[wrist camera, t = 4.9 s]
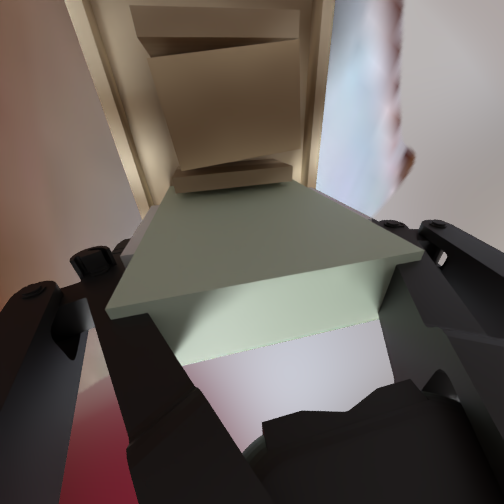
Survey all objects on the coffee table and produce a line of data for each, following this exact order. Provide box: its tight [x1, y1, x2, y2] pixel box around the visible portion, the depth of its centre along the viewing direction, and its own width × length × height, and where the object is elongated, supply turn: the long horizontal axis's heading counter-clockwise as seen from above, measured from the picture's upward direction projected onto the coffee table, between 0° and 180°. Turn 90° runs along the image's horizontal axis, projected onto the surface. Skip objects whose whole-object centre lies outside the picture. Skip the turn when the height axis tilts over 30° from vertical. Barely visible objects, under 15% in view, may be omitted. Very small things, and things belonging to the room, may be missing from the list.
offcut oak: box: [147, 39, 301, 171], centre depth 11 cm, size 4×7×3 cm
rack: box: [64, 0, 335, 220], centre depth 13 cm, size 20×15×7 cm
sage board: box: [105, 179, 425, 366], centre depth 13 cm, size 3×10×14 cm, turn 93°
